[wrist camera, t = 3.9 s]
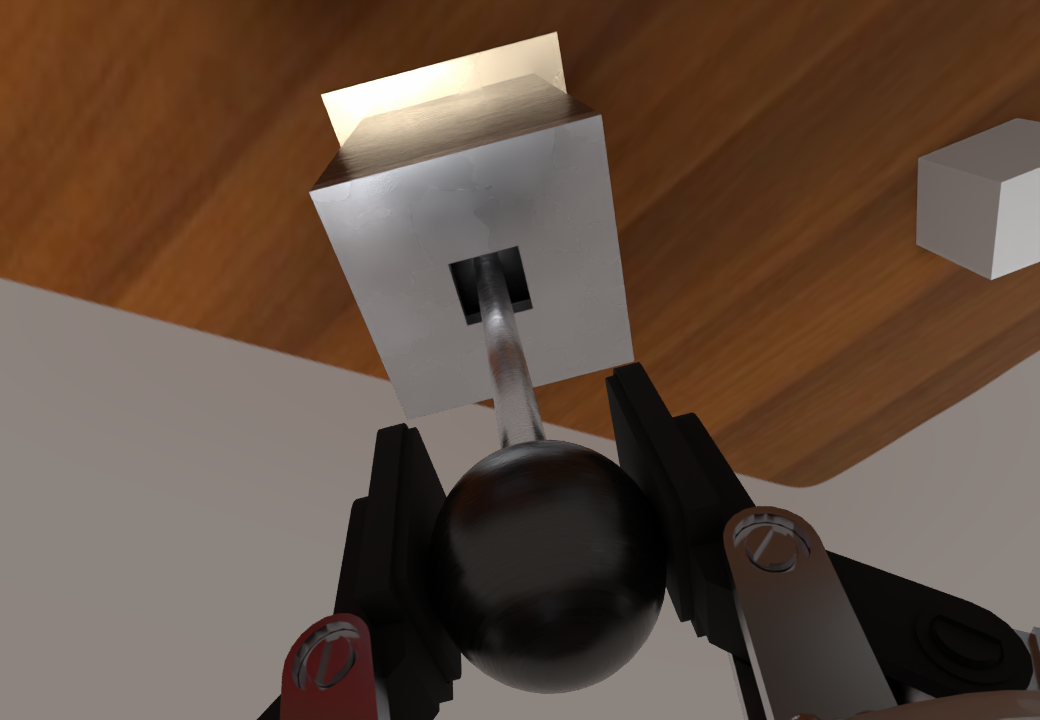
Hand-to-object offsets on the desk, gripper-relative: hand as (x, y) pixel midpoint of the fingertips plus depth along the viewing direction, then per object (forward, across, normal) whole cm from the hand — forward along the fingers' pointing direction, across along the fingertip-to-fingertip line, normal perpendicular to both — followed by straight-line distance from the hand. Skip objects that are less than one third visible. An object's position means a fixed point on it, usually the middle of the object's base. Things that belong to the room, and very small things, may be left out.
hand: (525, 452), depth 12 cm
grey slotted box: (+23, 0, 0) cm, 23 cm away
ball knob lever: (+12, 0, 0) cm, 12 cm away
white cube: (+23, -30, +8) cm, 39 cm away
